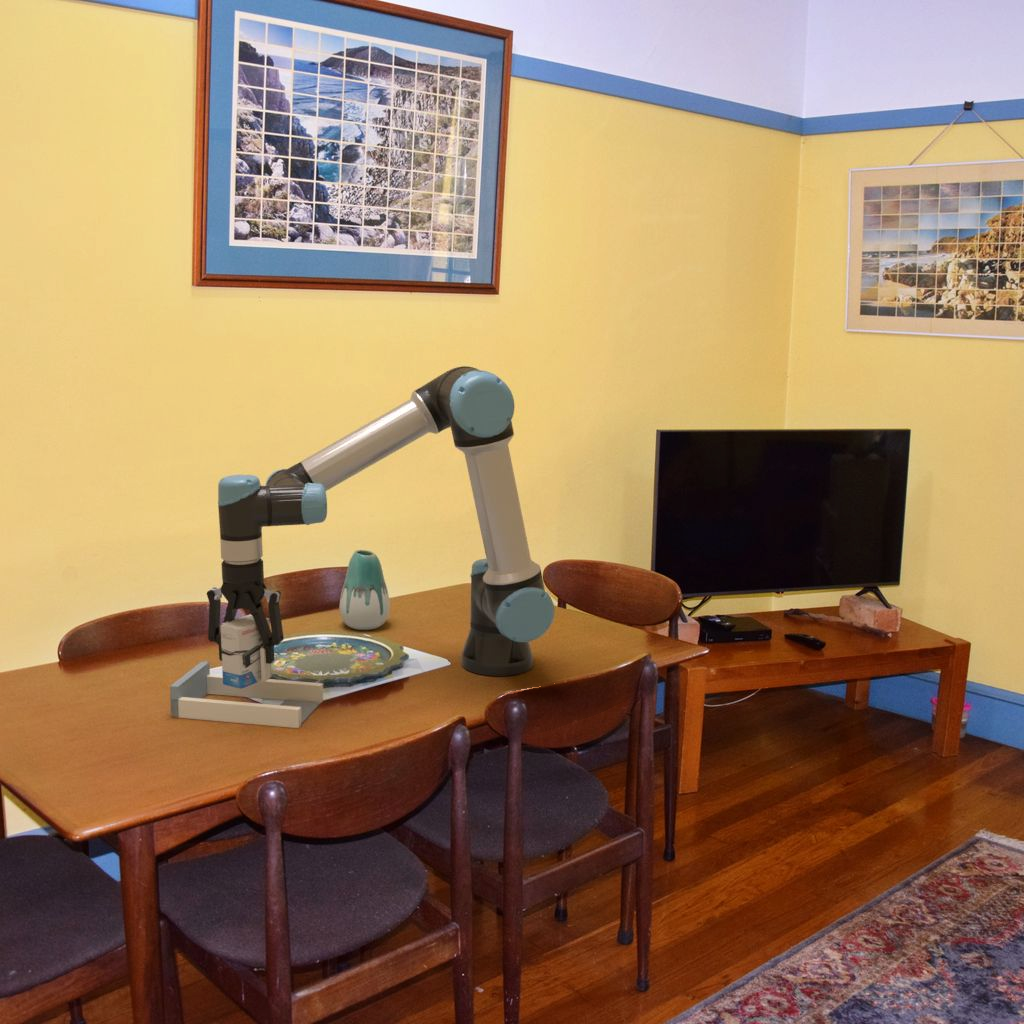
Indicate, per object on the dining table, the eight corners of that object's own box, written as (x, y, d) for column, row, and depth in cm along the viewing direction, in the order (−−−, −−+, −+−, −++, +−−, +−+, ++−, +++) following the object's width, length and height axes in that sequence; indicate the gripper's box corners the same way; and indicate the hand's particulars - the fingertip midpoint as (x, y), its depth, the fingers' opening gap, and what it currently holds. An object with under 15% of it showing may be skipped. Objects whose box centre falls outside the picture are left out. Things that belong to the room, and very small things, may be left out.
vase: (399, 624, 283) (400, 550, 279) (368, 636, 273) (368, 560, 269) (361, 616, 289) (361, 543, 285) (329, 627, 279) (328, 552, 276)
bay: (323, 700, 233) (323, 671, 232) (298, 728, 219) (298, 696, 218) (203, 690, 237) (202, 661, 236) (171, 716, 223) (170, 686, 222)
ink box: (241, 690, 222) (238, 628, 220) (221, 685, 225) (218, 624, 222) (273, 676, 229) (270, 616, 227) (253, 671, 232) (251, 612, 230)
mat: (320, 704, 231) (320, 702, 231) (301, 724, 221) (301, 722, 221) (285, 701, 232) (285, 699, 232) (265, 721, 222) (265, 719, 222)
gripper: (299, 556, 224) (304, 674, 229) (200, 552, 227) (206, 668, 232) (285, 566, 217) (290, 688, 222) (183, 562, 220) (190, 682, 225)
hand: (247, 677), depth 227 cm, fingers closed on ink box, 6 cm apart
